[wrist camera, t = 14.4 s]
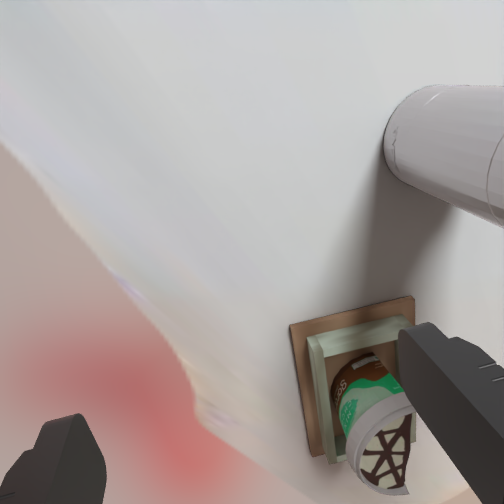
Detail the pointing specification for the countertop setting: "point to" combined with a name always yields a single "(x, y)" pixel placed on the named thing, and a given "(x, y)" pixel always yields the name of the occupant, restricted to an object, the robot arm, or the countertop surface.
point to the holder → (344, 363)
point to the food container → (374, 423)
